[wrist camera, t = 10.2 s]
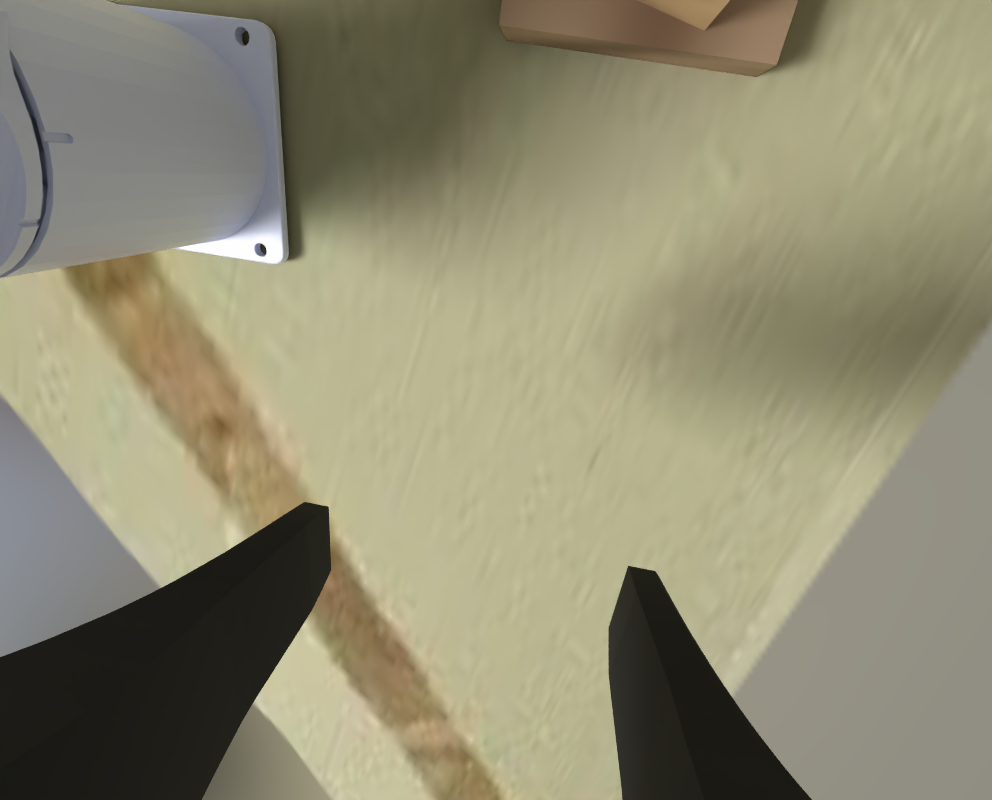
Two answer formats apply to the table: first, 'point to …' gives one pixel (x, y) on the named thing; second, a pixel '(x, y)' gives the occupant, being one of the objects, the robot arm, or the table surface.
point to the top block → (690, 10)
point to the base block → (655, 32)
